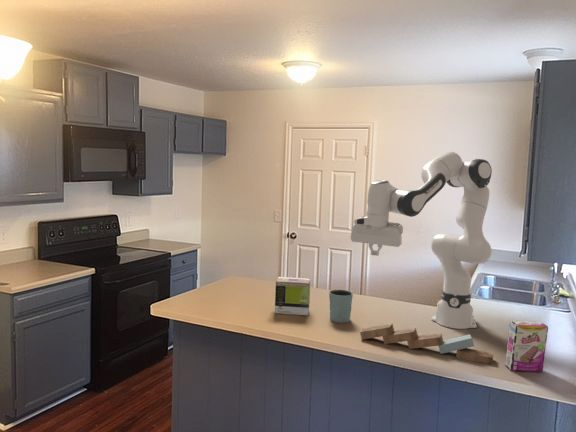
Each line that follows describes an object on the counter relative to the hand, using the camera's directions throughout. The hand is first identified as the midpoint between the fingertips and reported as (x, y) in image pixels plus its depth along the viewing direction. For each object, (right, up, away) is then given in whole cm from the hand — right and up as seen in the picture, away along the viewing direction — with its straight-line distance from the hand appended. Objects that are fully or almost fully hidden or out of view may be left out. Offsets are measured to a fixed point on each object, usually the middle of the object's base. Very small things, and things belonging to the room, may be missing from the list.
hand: (374, 255), depth 197 cm
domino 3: (+11, -32, -13) cm, 36 cm away
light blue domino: (+21, -33, -17) cm, 42 cm away
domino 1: (-6, -30, -6) cm, 31 cm away
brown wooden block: (+26, -34, -19) cm, 47 cm away
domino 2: (+2, -31, -9) cm, 32 cm away
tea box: (-33, -27, +23) cm, 49 cm away
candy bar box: (+46, -37, -29) cm, 66 cm away
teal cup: (-13, -29, +15) cm, 35 cm away
